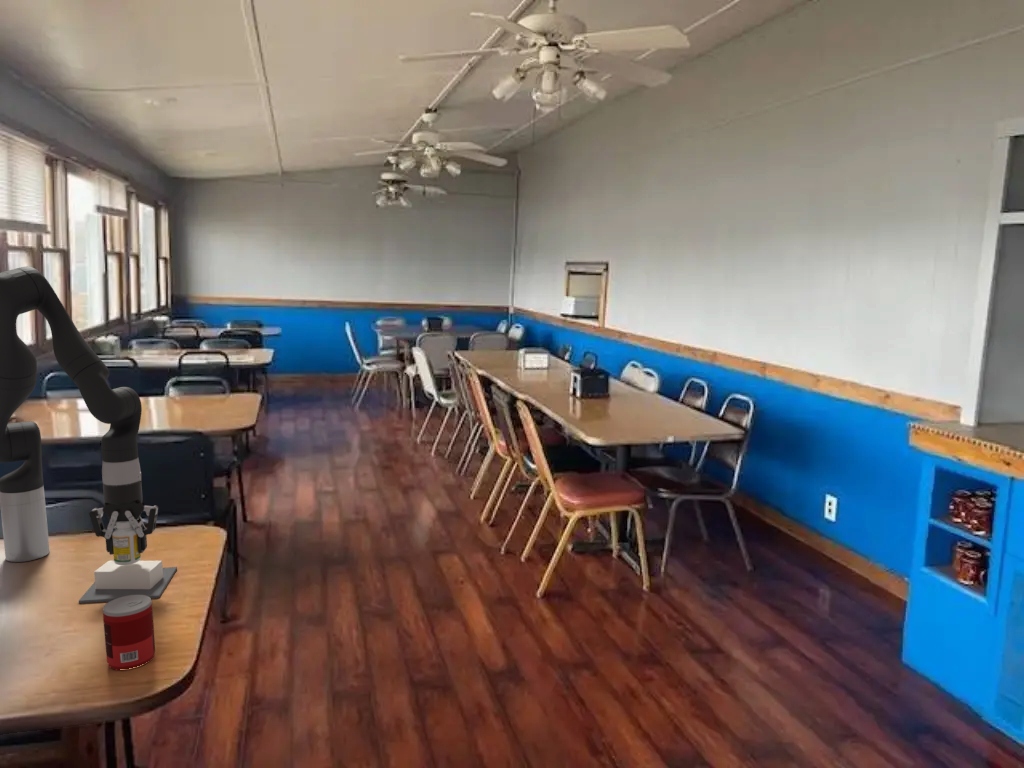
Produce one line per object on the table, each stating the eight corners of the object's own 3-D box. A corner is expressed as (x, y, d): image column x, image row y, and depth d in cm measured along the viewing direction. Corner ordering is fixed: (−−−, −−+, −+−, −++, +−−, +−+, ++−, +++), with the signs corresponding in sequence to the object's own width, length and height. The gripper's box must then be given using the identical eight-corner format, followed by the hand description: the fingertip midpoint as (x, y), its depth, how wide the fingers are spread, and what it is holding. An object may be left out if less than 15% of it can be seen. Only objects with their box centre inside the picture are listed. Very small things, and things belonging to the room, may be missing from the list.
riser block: (110, 577, 176) (108, 560, 175) (163, 577, 176) (162, 560, 175) (95, 589, 170) (94, 571, 169) (150, 589, 170) (149, 571, 169)
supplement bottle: (120, 567, 168) (117, 525, 167) (110, 561, 172) (106, 520, 170) (145, 560, 172) (142, 519, 171) (134, 554, 176) (131, 514, 174)
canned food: (164, 655, 143) (161, 598, 141) (127, 675, 136) (122, 616, 134) (135, 646, 146) (131, 591, 144) (97, 665, 139) (92, 608, 137)
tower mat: (103, 573, 179) (103, 571, 179) (177, 569, 182) (176, 566, 182) (78, 603, 164) (78, 600, 164) (159, 598, 167) (158, 595, 166)
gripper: (80, 485, 164) (86, 561, 167) (152, 482, 167) (157, 557, 169) (92, 475, 171) (98, 548, 174) (161, 473, 174) (166, 544, 177)
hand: (127, 552), depth 172 cm, fingers closed on supplement bottle, 5 cm apart
